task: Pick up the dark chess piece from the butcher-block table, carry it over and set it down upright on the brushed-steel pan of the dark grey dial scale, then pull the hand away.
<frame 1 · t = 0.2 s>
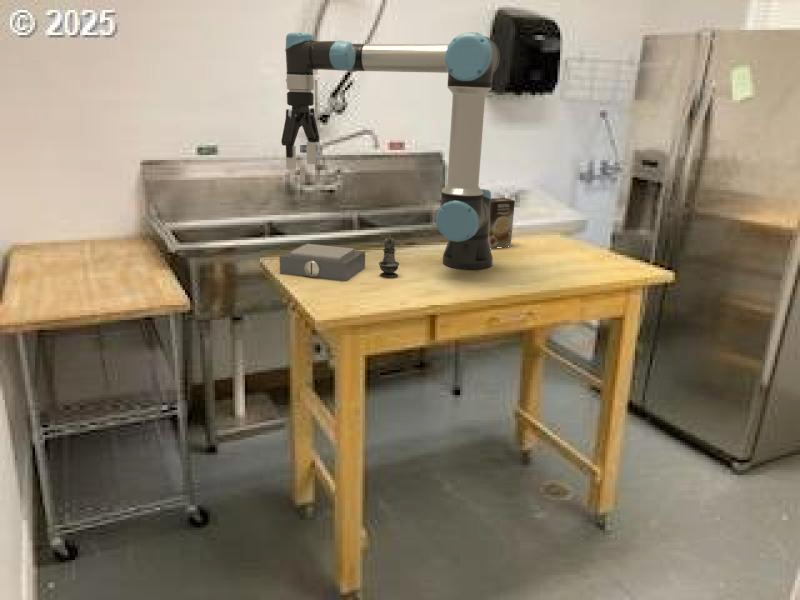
hand: (301, 166, 198), 28 cm above the table, fingers open, 13 cm apart
dark chess piece: (388, 276, 190), on the table
coffee box: (494, 247, 227), on the table
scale: (323, 270, 193), on the table
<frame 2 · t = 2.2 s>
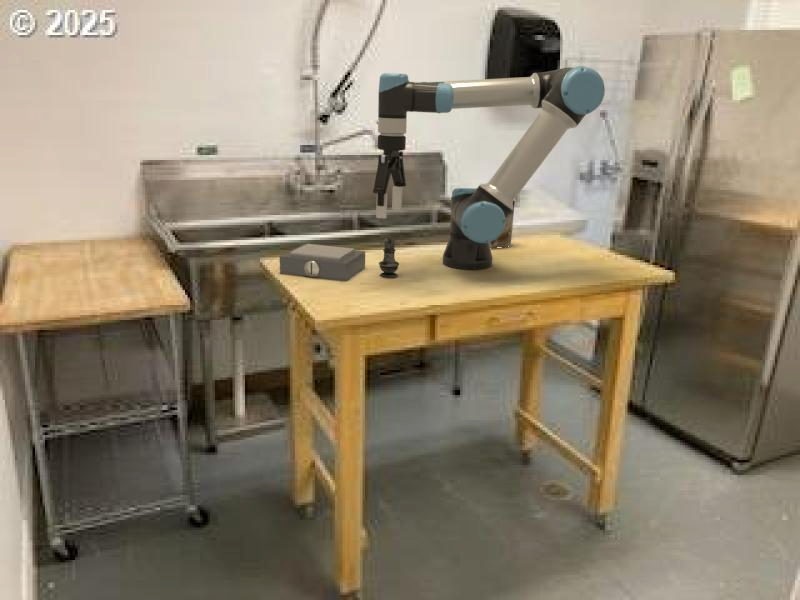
hand: (389, 213, 184), 18 cm above the table, fingers open, 13 cm apart
nothing on the table moved.
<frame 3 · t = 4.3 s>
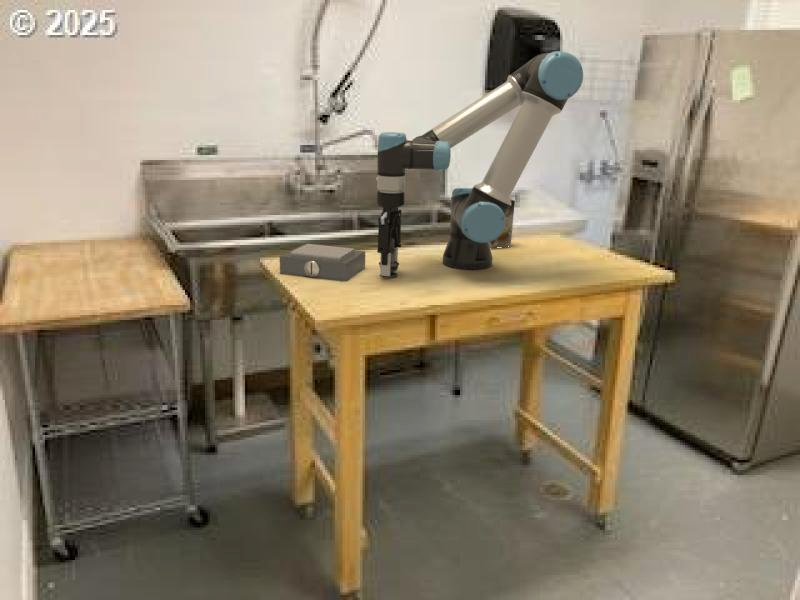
hand: (388, 272, 190), 1 cm above the table, fingers closed on dark chess piece, 6 cm apart
dark chess piece: (388, 276, 190), on the table, touching gripper
everything else where it was.
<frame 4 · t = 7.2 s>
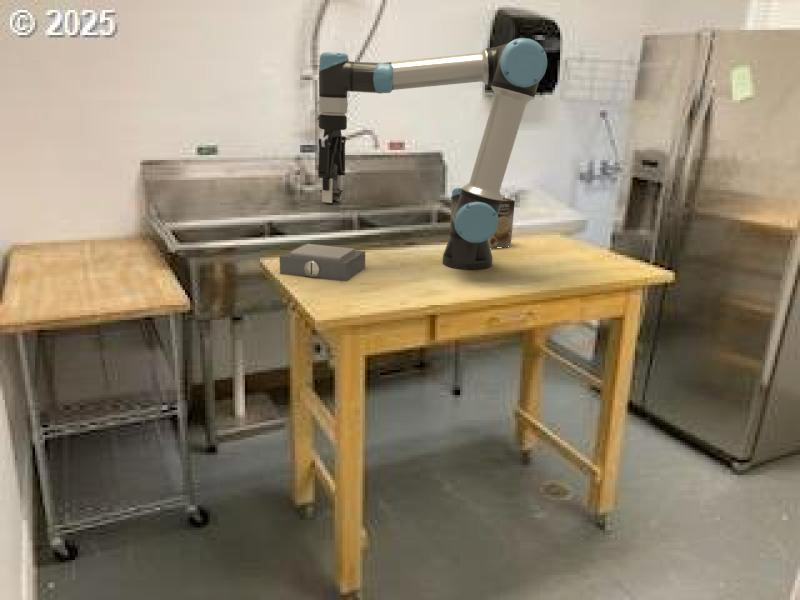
hand: (331, 200, 186), 20 cm above the table, fingers closed on dark chess piece, 6 cm apart
dark chess piece: (331, 204, 186), point 19 cm above the table, touching gripper
everything else where it was.
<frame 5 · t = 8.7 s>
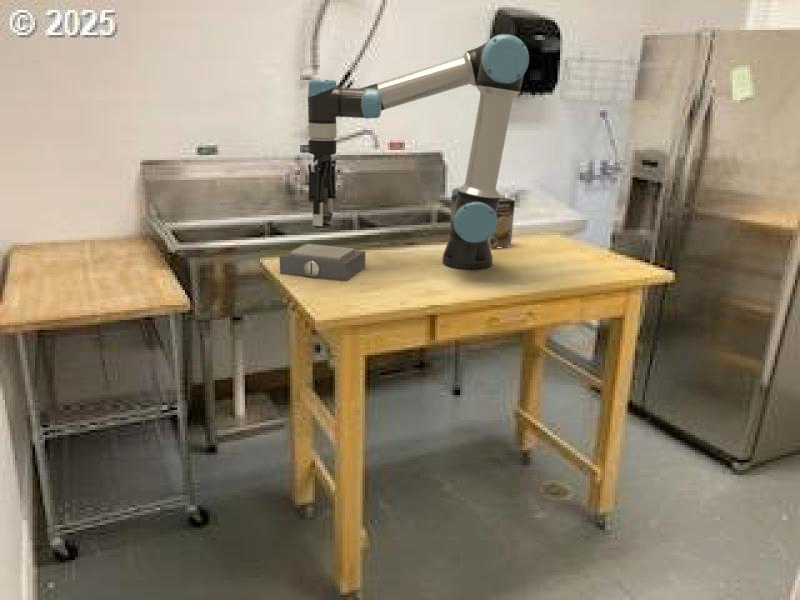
hand: (322, 223, 189), 14 cm above the table, fingers closed on dark chess piece, 6 cm apart
dark chess piece: (322, 226, 189), point 13 cm above the table, touching gripper
everything else where it was.
when the fingers open (8 cm above the table, at t = 10.1 s): dark chess piece stays where it is, resting on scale.
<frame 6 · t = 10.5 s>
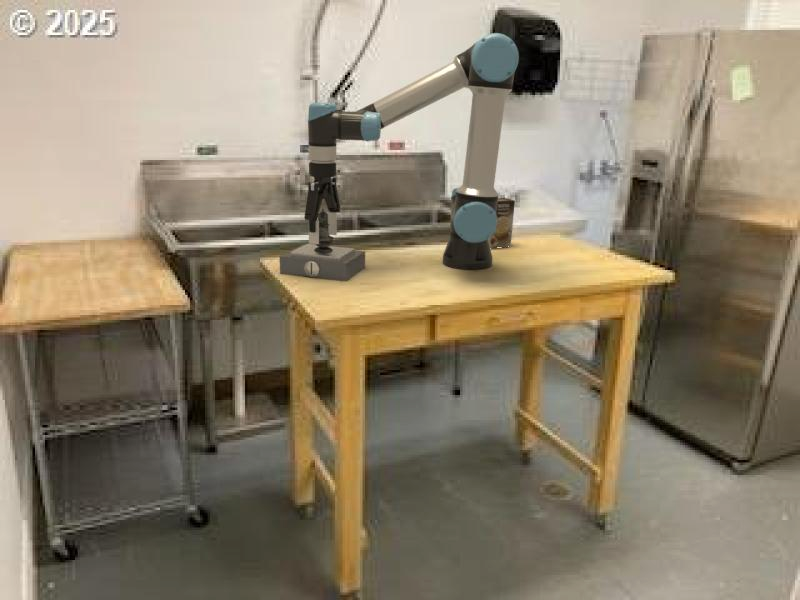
hand: (323, 238, 190), 9 cm above the table, fingers open, 12 cm apart
dark chess piece: (323, 250, 191), point 6 cm above the table, touching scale
everything else where it was.
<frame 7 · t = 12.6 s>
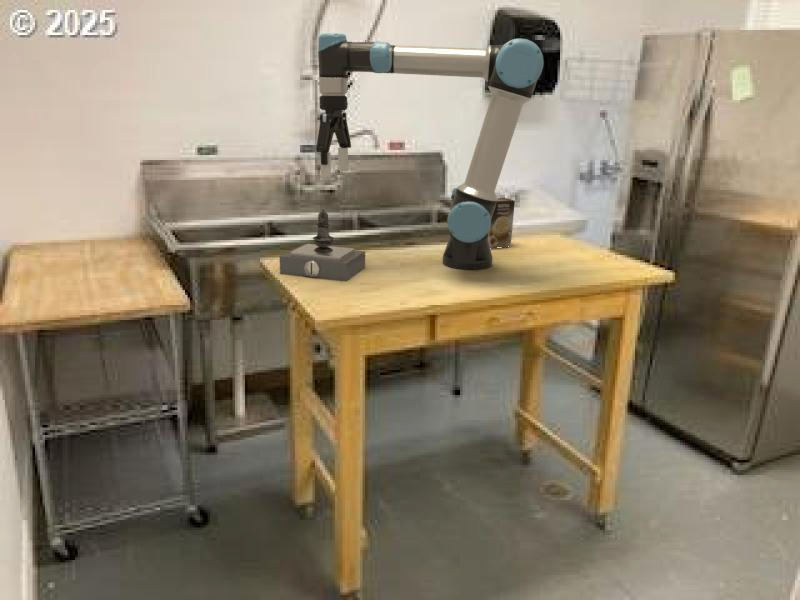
hand: (334, 174, 188), 27 cm above the table, fingers open, 13 cm apart
nothing on the table moved.
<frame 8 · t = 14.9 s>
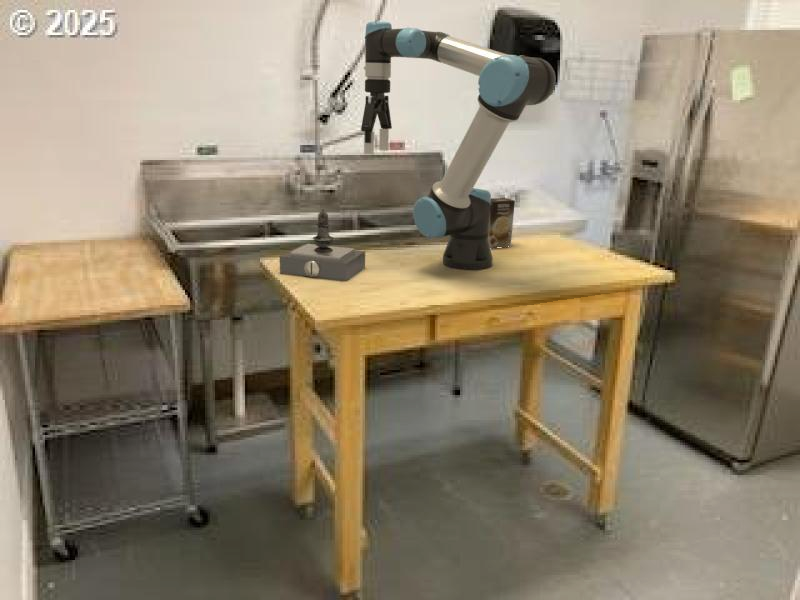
hand: (376, 152, 203), 32 cm above the table, fingers open, 13 cm apart
nothing on the table moved.
at the end: dark chess piece inside the target area on the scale (0.0 cm from its centre), point 5.8 cm above the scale's base; dark chess piece tilted 0°; the gripper is holding nothing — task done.
